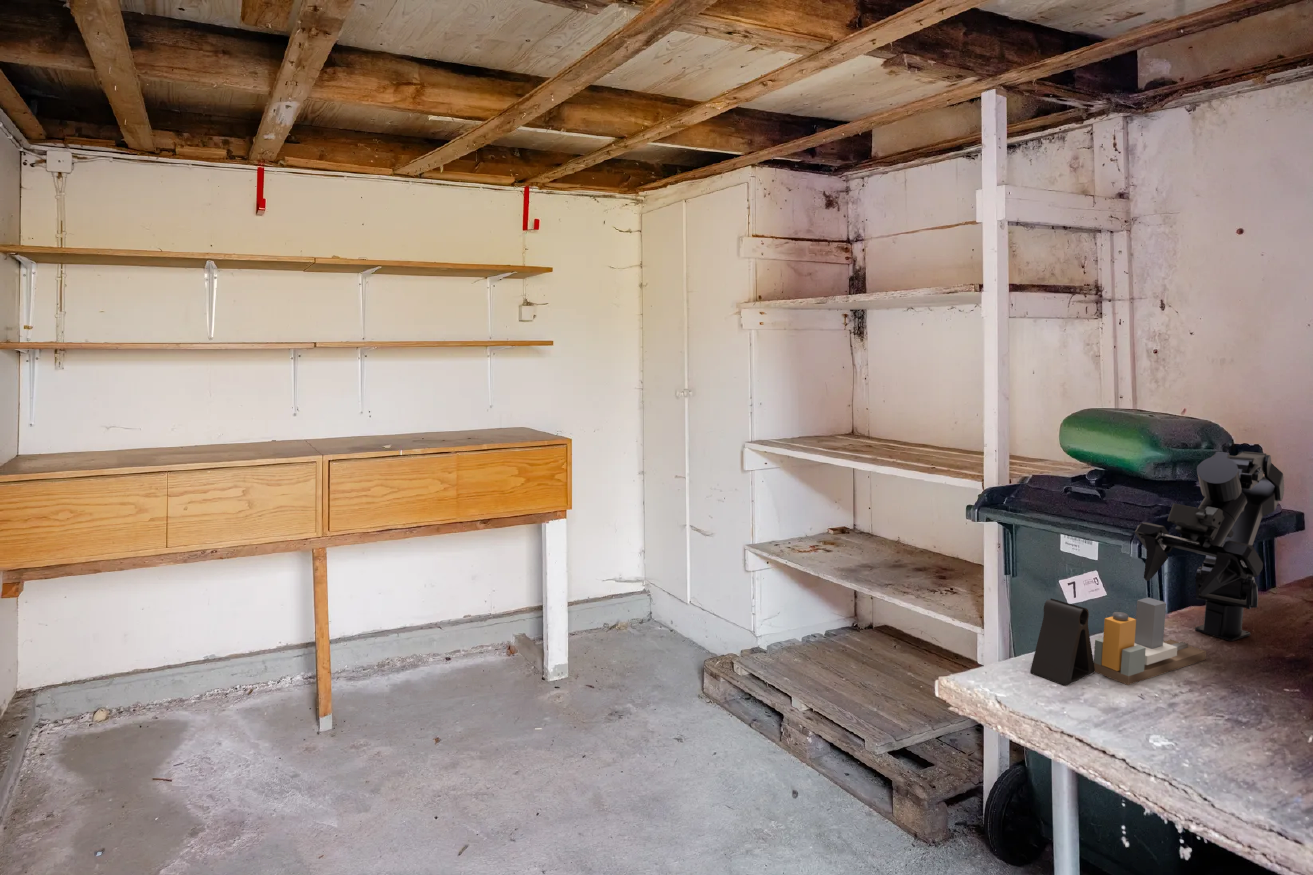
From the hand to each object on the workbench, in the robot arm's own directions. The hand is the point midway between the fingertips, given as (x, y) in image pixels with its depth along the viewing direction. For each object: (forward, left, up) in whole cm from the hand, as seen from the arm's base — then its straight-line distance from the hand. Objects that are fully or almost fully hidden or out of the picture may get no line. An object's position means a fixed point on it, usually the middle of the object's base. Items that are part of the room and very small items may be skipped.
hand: (1172, 586), depth 137 cm
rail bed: (+5, 0, -13) cm, 14 cm away
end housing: (+13, 0, -11) cm, 17 cm away
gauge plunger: (+13, 0, -11) cm, 18 cm away
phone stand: (+20, -5, -13) cm, 25 cm away
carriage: (+6, 0, -11) cm, 12 cm away
